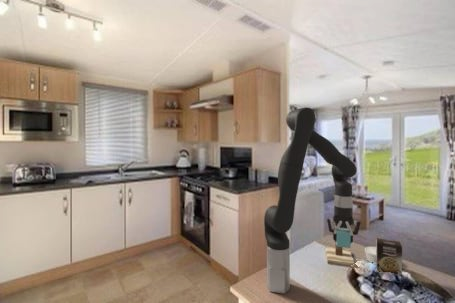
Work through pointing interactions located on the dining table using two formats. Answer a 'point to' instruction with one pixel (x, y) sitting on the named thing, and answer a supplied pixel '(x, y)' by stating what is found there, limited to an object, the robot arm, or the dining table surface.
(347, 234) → the teal toy cube
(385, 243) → the coffee box
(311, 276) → the dining table surface
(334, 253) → the post block
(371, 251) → the ramekin
